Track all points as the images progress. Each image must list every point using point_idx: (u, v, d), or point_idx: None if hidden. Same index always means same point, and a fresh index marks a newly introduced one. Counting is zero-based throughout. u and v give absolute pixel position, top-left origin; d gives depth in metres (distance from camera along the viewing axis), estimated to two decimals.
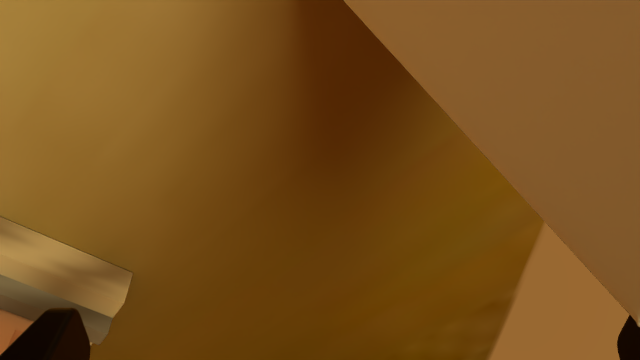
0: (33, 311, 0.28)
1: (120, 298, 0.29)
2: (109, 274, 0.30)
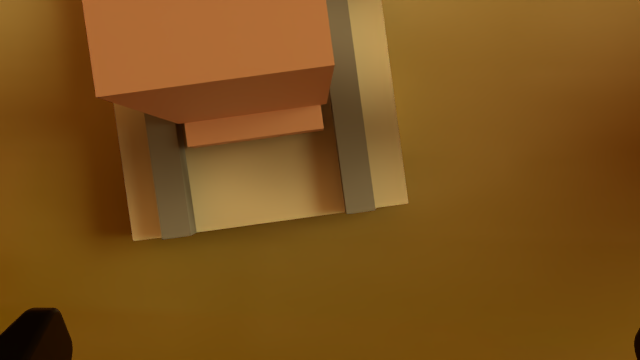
0: (352, 111, 0.21)
1: None
2: None
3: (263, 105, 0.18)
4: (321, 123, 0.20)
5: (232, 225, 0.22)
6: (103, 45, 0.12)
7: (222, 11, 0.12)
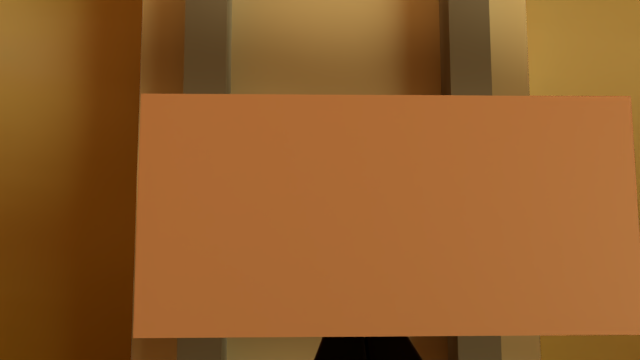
0: None
1: None
2: None
3: None
4: None
5: None
6: (168, 229, 0.06)
7: (424, 192, 0.06)
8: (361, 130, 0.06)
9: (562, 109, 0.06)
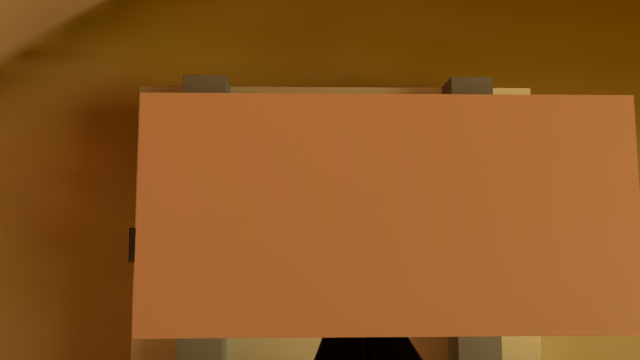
0: None
1: None
2: None
3: None
4: None
5: None
6: (167, 229, 0.06)
7: (425, 192, 0.06)
8: (361, 129, 0.06)
9: (565, 109, 0.06)
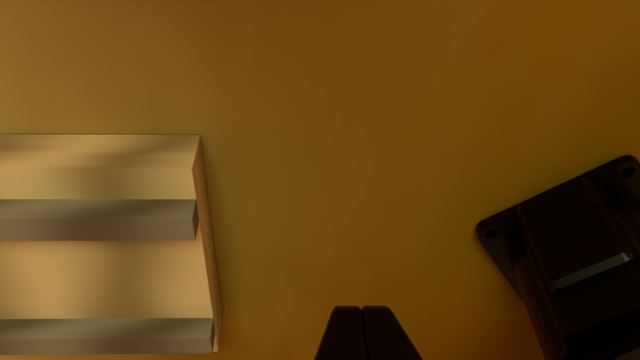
0: (88, 226, 0.20)
1: (185, 165, 0.20)
2: (165, 146, 0.21)
3: None
4: None
5: (208, 296, 0.24)
6: None
7: None
8: None
9: None
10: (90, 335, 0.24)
